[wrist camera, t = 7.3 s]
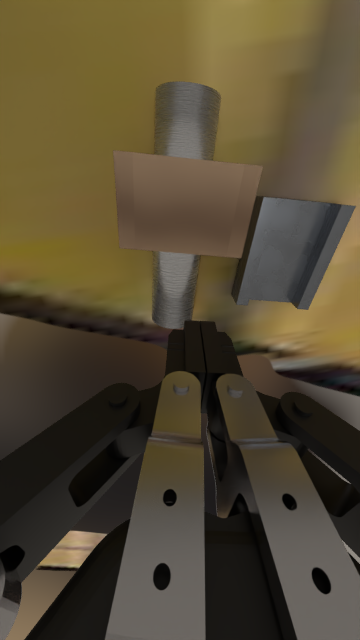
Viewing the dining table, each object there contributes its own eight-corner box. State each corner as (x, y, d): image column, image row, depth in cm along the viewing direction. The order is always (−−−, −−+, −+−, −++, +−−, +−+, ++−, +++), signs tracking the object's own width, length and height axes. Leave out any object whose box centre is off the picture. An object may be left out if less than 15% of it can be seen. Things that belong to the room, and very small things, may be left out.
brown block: (138, 163, 18) (113, 150, 11) (230, 173, 19) (263, 166, 12) (139, 226, 21) (119, 248, 14) (220, 233, 21) (241, 258, 14)
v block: (254, 195, 20) (263, 197, 18) (337, 203, 20) (355, 206, 18) (231, 294, 25) (236, 304, 23) (297, 299, 25) (307, 309, 23)
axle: (158, 102, 17) (152, 77, 13) (216, 108, 17) (226, 86, 13) (154, 306, 26) (149, 327, 22) (190, 309, 26) (192, 329, 23)
